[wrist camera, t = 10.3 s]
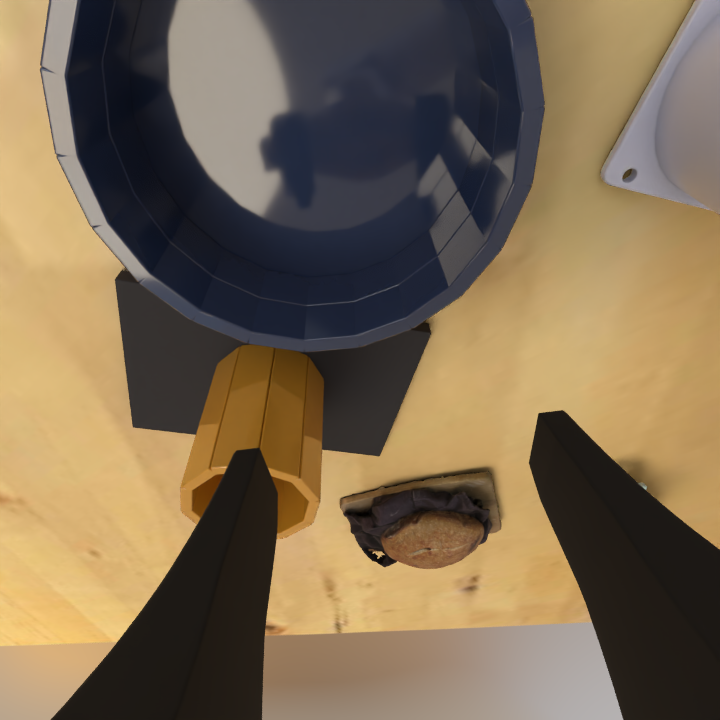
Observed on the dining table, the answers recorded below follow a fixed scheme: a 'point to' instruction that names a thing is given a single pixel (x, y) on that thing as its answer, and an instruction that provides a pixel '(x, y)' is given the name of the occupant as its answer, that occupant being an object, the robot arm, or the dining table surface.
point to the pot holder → (208, 347)
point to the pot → (297, 153)
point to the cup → (261, 431)
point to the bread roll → (424, 520)
